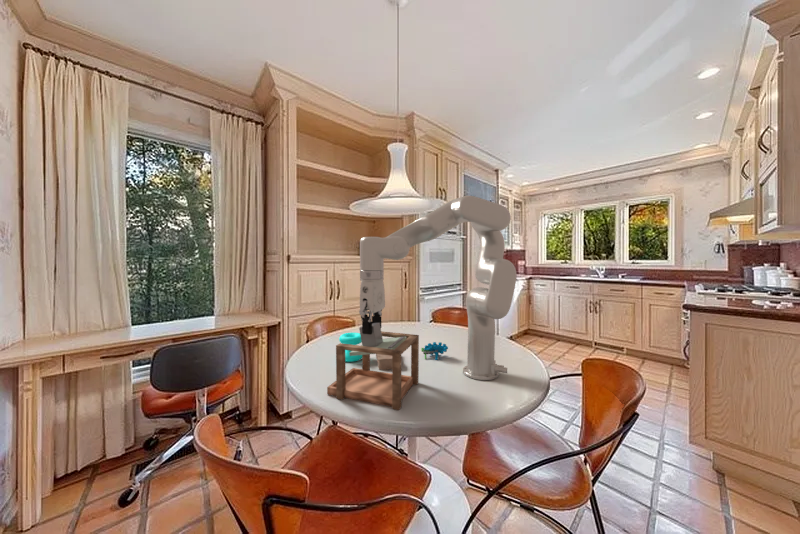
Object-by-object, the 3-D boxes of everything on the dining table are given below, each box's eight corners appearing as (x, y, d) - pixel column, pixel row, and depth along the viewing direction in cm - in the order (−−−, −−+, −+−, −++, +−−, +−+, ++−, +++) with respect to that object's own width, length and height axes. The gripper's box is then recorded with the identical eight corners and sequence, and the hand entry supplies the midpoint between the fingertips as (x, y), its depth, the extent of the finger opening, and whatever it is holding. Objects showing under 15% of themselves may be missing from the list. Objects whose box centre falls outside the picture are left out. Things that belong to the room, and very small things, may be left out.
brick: (400, 369, 120) (400, 357, 120) (378, 370, 119) (378, 358, 118) (395, 355, 136) (395, 344, 136) (375, 356, 135) (375, 345, 135)
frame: (418, 382, 108) (418, 335, 107) (398, 410, 89) (399, 353, 88) (354, 373, 116) (354, 328, 115) (324, 396, 97) (324, 344, 96)
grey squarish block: (383, 341, 103) (379, 322, 103) (376, 346, 99) (373, 326, 99) (369, 343, 105) (366, 324, 105) (362, 347, 100) (359, 327, 100)
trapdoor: (406, 339, 105) (406, 335, 105) (391, 352, 92) (390, 348, 92) (369, 343, 110) (368, 339, 110) (349, 355, 97) (349, 351, 97)
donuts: (336, 333, 133) (359, 330, 137) (336, 356, 133) (359, 353, 138) (342, 339, 124) (366, 336, 128) (342, 364, 124) (366, 360, 129)
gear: (448, 350, 136) (446, 339, 129) (449, 363, 132) (447, 353, 125) (423, 353, 138) (419, 342, 130) (423, 366, 134) (420, 355, 126)
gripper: (371, 278, 91) (371, 339, 92) (392, 273, 107) (392, 325, 108) (348, 277, 94) (348, 337, 95) (372, 273, 110) (372, 324, 111)
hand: (372, 330), depth 102 cm, fingers open, 6 cm apart
